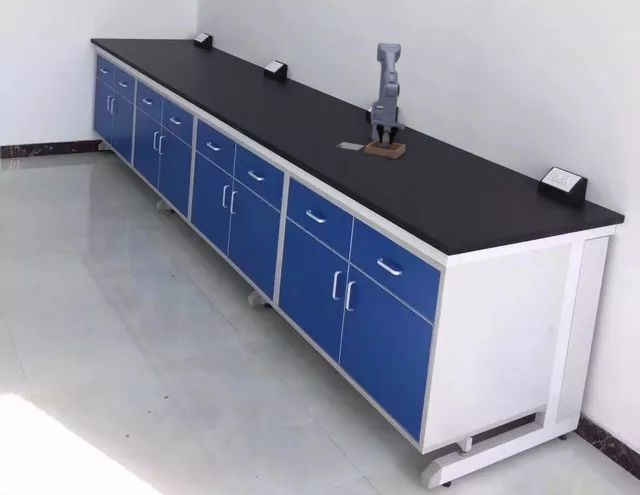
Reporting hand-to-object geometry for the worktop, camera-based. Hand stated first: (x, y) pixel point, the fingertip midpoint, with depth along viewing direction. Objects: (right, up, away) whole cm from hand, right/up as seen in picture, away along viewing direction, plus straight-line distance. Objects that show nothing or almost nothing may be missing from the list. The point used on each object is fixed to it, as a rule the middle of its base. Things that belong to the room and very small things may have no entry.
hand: (386, 143), depth 339 cm
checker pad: (-15, -1, +7) cm, 17 cm away
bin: (0, -4, +2) cm, 4 cm away
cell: (0, -2, +1) cm, 2 cm away
